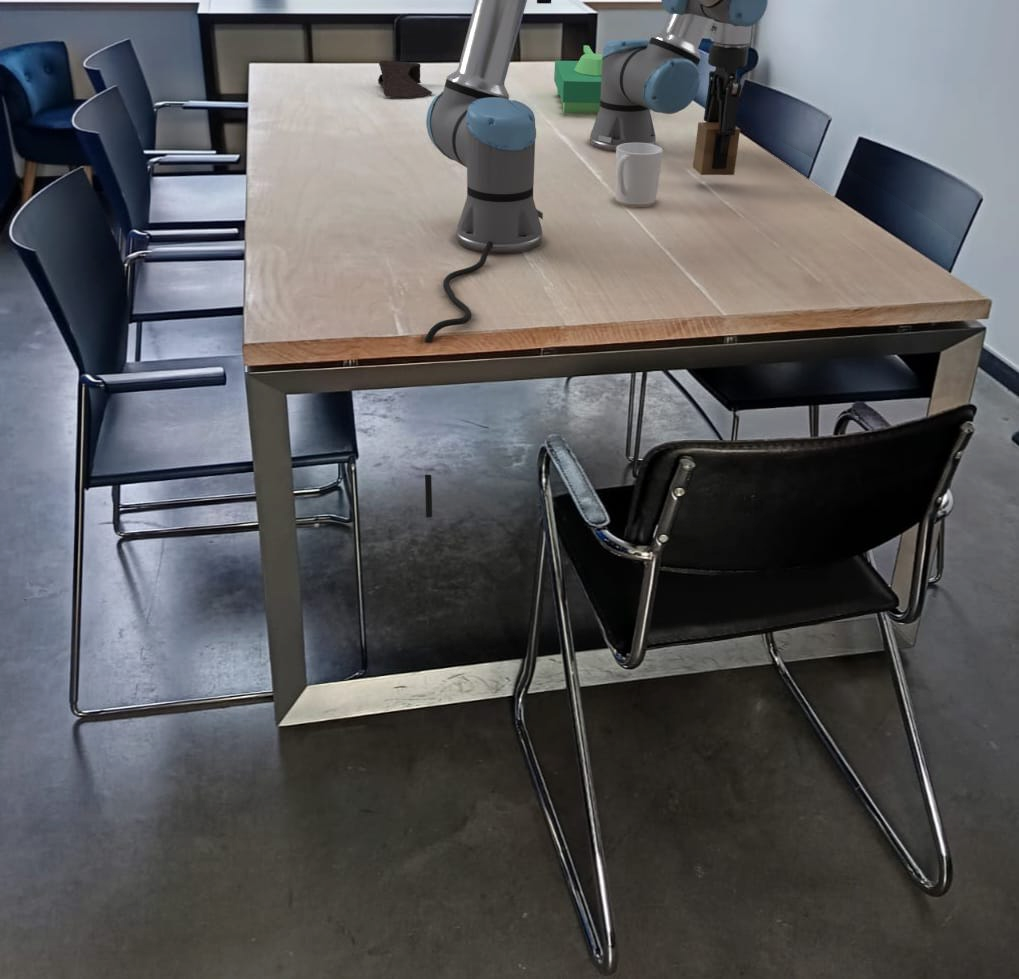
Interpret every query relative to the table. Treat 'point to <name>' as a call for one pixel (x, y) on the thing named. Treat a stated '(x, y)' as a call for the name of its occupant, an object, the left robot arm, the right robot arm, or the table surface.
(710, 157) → the brick
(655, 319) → the table surface
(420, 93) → the axe head
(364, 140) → the table surface
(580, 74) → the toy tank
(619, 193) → the mug
